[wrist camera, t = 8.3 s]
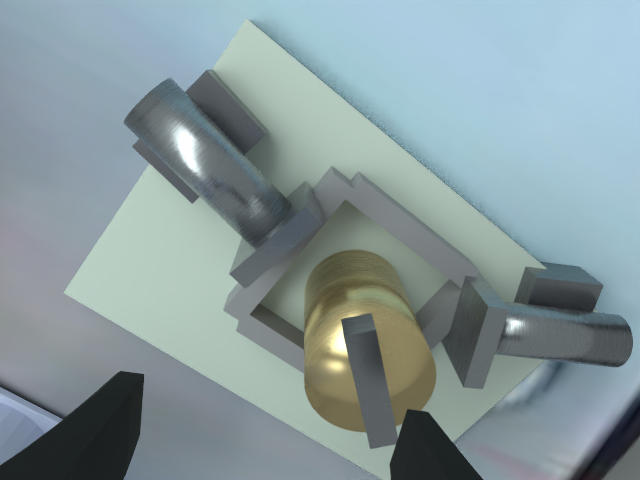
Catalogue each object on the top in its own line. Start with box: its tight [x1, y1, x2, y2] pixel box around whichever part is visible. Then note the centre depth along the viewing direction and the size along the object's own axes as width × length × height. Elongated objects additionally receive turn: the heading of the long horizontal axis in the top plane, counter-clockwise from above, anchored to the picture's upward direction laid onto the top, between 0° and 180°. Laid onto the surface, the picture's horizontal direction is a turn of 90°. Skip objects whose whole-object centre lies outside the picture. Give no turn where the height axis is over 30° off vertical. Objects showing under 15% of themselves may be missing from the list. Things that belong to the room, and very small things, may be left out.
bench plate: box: [64, 18, 598, 480], centre depth 21 cm, size 14×20×2 cm
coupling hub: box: [304, 250, 437, 449], centre depth 18 cm, size 5×4×7 cm
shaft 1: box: [124, 70, 322, 289], centre depth 17 cm, size 7×4×5 cm, turn 42°
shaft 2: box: [441, 262, 633, 389], centre depth 20 cm, size 7×4×5 cm, turn 82°
